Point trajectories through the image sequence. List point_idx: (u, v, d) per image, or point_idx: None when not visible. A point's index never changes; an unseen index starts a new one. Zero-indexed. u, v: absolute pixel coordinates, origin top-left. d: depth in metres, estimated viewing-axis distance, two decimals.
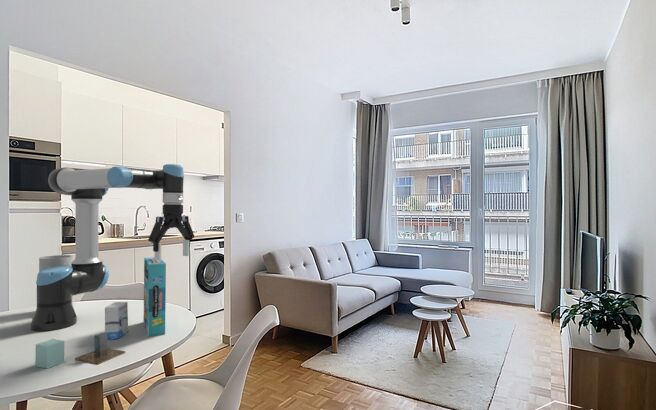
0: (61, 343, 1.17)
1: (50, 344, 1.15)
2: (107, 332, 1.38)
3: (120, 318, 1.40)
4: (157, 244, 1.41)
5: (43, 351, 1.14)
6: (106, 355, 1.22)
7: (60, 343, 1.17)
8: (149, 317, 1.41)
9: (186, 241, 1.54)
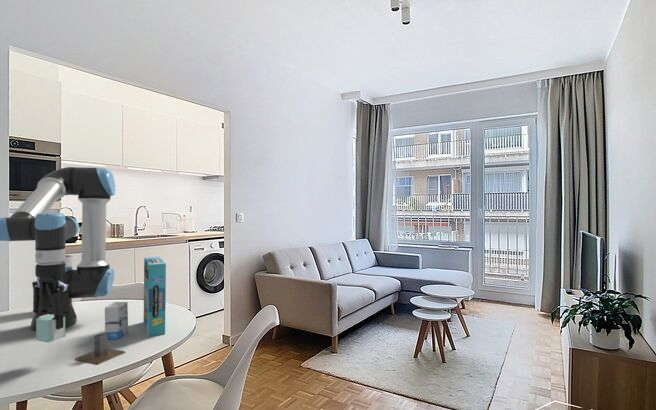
0: None
1: (51, 319, 1.15)
2: (107, 332, 1.38)
3: (120, 318, 1.40)
4: None
5: (44, 325, 1.14)
6: (106, 355, 1.22)
7: None
8: (149, 317, 1.41)
9: None
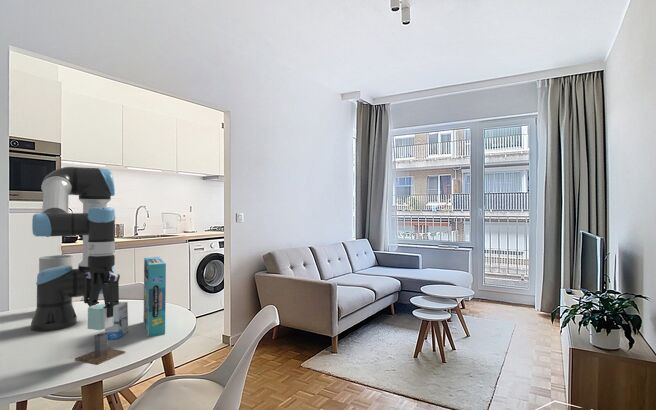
0: None
1: (101, 308, 1.21)
2: (107, 332, 1.38)
3: (120, 318, 1.40)
4: None
5: (95, 314, 1.20)
6: (106, 355, 1.22)
7: None
8: (149, 317, 1.41)
9: None
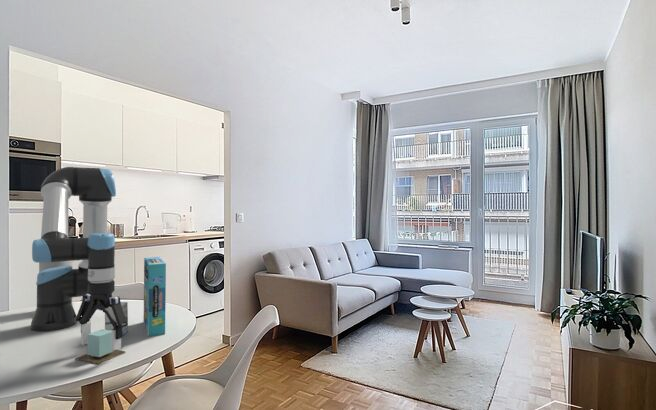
0: (111, 333, 1.23)
1: (101, 334, 1.21)
2: None
3: None
4: None
5: (95, 340, 1.20)
6: (106, 355, 1.22)
7: (110, 333, 1.23)
8: (149, 317, 1.41)
9: None
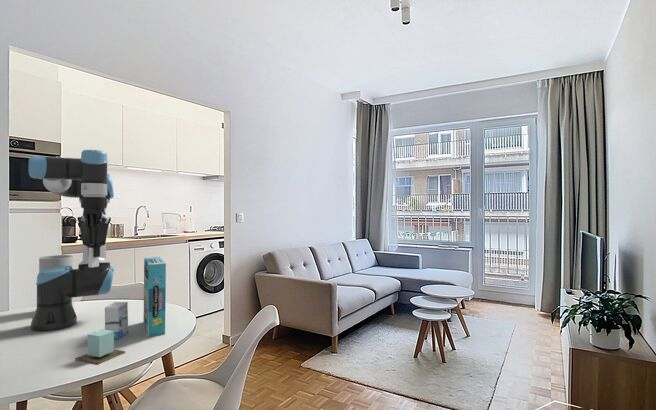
0: (111, 333, 1.23)
1: (101, 334, 1.21)
2: None
3: (120, 318, 1.40)
4: None
5: (95, 340, 1.20)
6: (106, 355, 1.22)
7: (110, 333, 1.23)
8: (149, 317, 1.41)
9: None
